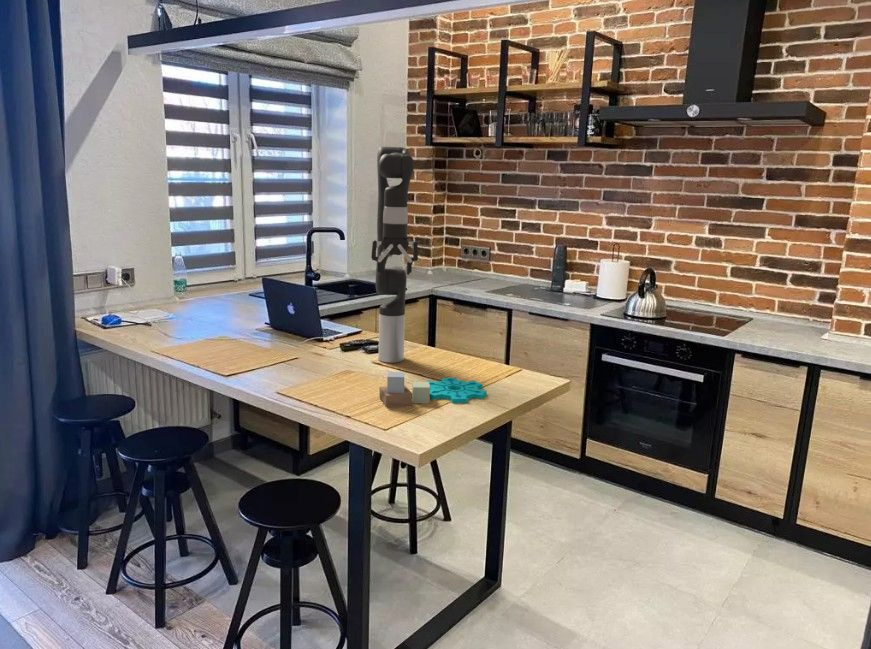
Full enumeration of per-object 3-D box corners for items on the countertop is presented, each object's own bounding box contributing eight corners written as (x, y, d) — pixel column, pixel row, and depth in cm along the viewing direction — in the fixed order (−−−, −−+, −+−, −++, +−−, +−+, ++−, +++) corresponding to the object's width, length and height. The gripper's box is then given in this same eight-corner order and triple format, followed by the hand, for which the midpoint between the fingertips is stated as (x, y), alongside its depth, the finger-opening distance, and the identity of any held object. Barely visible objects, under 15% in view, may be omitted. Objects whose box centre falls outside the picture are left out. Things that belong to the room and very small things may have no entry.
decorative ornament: (491, 403, 199) (478, 382, 219) (491, 398, 199) (478, 377, 218) (427, 404, 197) (419, 382, 216) (427, 399, 196) (419, 377, 215)
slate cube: (387, 387, 198) (387, 371, 197) (404, 387, 198) (404, 371, 197) (387, 392, 193) (387, 376, 192) (404, 393, 194) (404, 377, 192)
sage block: (428, 397, 202) (412, 397, 201) (428, 382, 201) (412, 381, 200) (429, 403, 197) (412, 403, 196) (430, 387, 196) (413, 387, 195)
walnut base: (379, 399, 199) (379, 387, 198) (404, 397, 202) (404, 385, 201) (385, 408, 192) (386, 395, 191) (412, 406, 194) (412, 393, 193)
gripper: (417, 221, 205) (415, 272, 209) (371, 220, 203) (370, 272, 206) (420, 223, 198) (418, 276, 201) (372, 222, 195) (371, 275, 199)
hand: (394, 274), depth 204 cm, fingers open, 8 cm apart
